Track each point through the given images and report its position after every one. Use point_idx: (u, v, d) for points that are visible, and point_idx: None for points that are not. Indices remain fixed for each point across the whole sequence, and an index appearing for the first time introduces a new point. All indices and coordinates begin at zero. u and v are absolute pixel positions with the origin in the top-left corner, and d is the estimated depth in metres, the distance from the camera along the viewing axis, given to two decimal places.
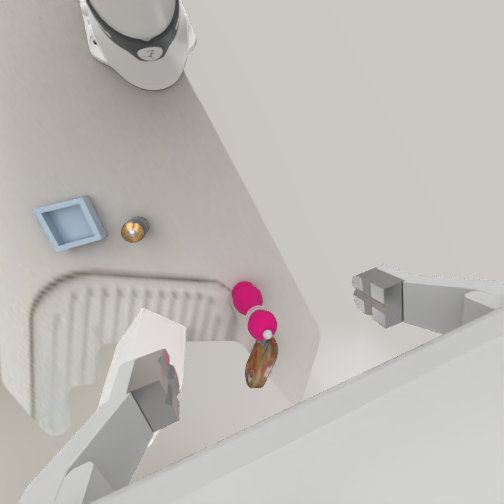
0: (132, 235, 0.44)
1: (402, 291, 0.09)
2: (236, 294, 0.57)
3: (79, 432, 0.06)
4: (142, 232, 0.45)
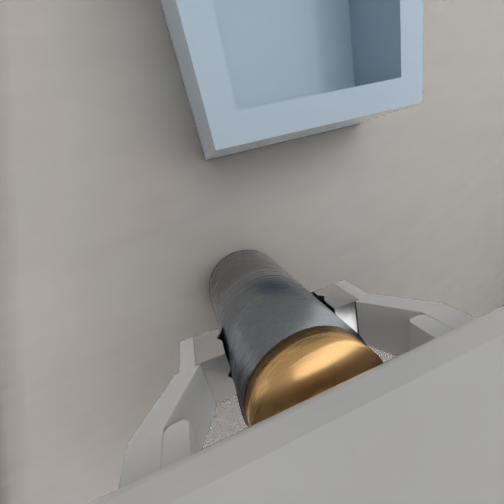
0: None
1: (356, 310, 0.08)
2: None
3: (161, 397, 0.06)
4: None
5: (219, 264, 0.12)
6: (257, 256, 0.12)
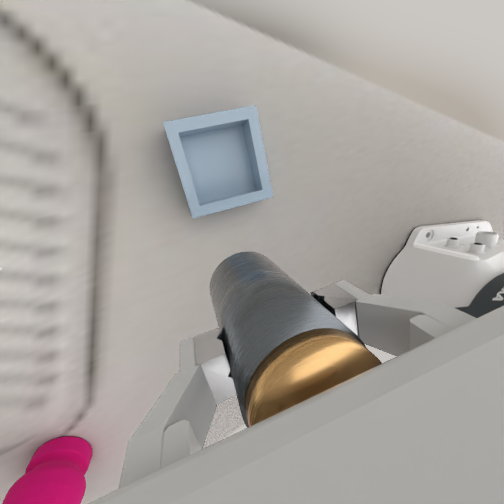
0: None
1: (356, 310, 0.08)
2: (59, 477, 0.25)
3: (162, 397, 0.06)
4: None
5: (220, 266, 0.12)
6: (257, 258, 0.12)
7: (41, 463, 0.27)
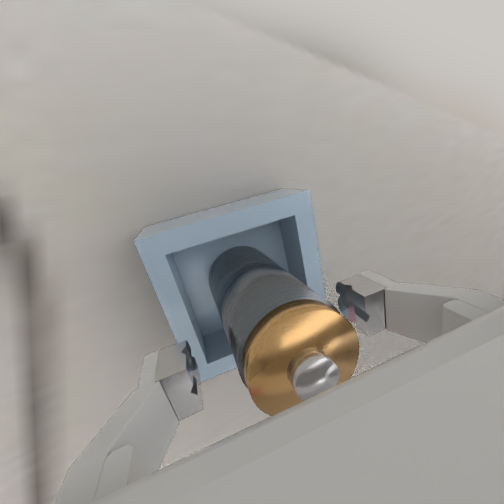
0: (305, 387, 0.07)
1: (384, 298, 0.09)
2: None
3: (113, 418, 0.06)
4: None
5: (217, 258, 0.14)
6: (251, 250, 0.13)
7: None
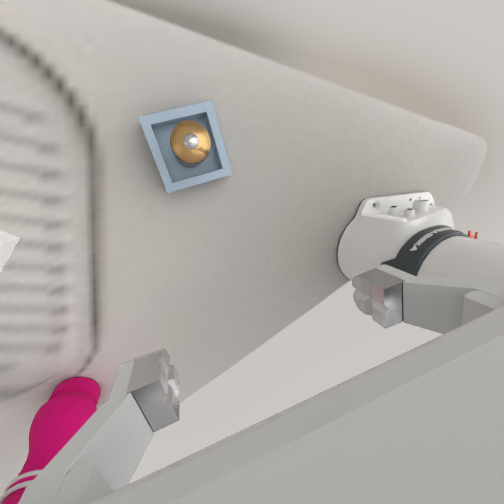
0: (186, 141, 0.23)
1: (402, 291, 0.09)
2: (75, 401, 0.32)
3: (79, 432, 0.06)
4: (191, 160, 0.24)
5: None
6: None
7: (60, 395, 0.34)
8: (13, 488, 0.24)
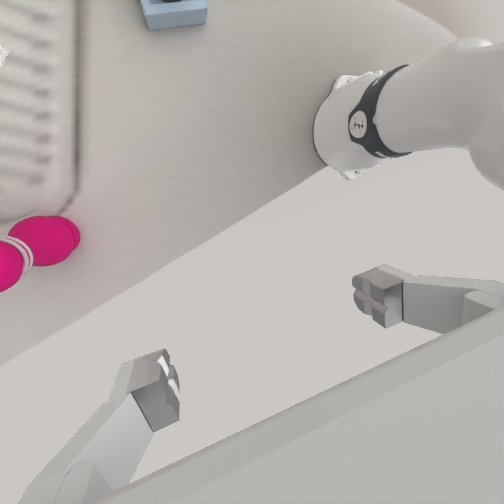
0: None
1: (402, 291, 0.09)
2: (53, 221, 0.34)
3: (79, 432, 0.06)
4: None
5: None
6: None
7: None
8: None
